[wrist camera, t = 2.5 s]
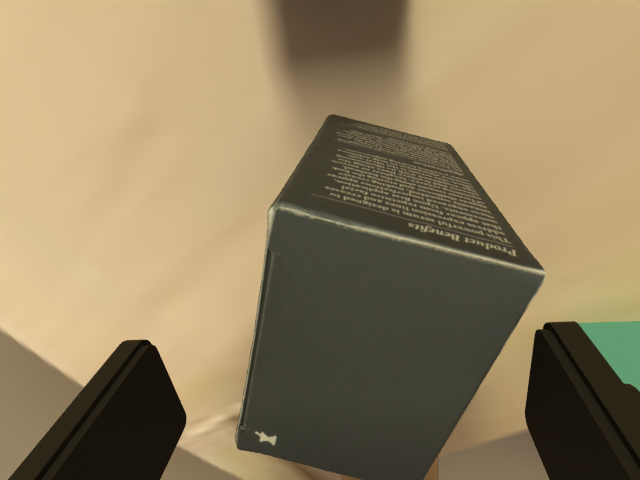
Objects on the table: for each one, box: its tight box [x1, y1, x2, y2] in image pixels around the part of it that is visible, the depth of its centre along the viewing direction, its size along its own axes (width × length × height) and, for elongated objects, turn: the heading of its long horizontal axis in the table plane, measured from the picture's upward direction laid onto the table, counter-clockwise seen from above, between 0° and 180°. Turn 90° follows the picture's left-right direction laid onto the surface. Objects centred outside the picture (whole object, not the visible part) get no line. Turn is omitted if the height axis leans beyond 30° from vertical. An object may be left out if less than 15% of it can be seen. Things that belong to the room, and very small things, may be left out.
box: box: [235, 115, 547, 480], centre depth 13 cm, size 8×6×11 cm
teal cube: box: [578, 321, 640, 391], centre depth 18 cm, size 5×5×5 cm
